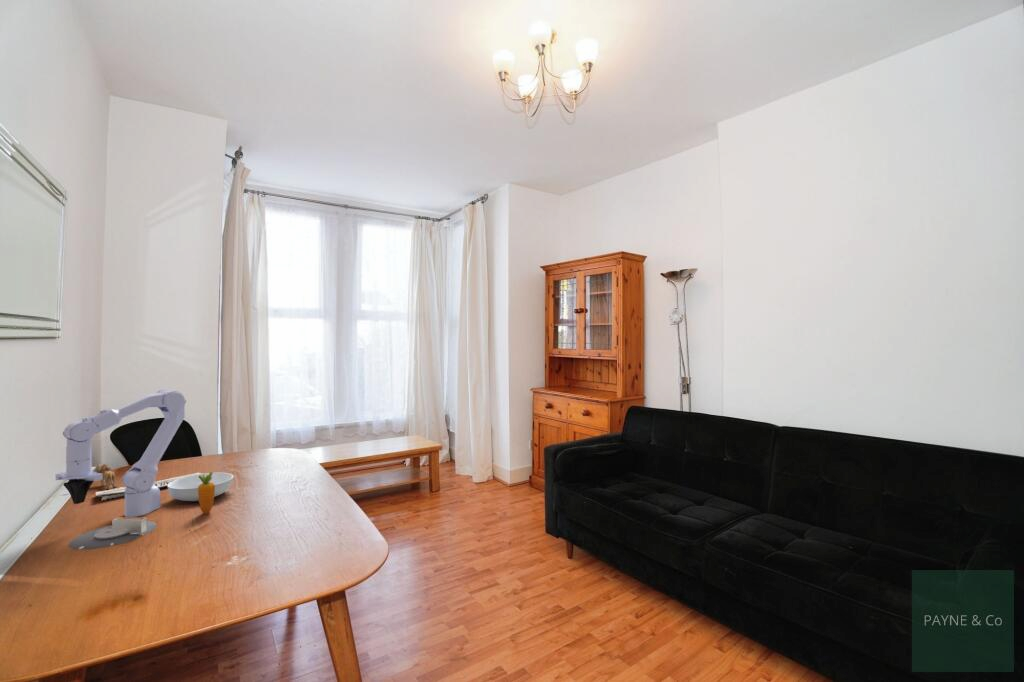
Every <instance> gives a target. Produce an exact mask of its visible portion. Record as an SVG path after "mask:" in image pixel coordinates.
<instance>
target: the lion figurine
mask: <svg viewBox="0 0 1024 682" xmlns="http://www.w3.org/2000/svg"><path fill="white" fill-rule="evenodd" d="M92 472H96V473H101V474H103V479H102V480H100V482H101V483H100V485H99V487H100V486H103V485H104V486H105V485H106V489H109V490H110V485H111V486H112V487H113V489H115V488H118V487H117V486H118V485H117V484H116V474H115V472H114V471H113V470H112V468H111V467H109V465H108V464H105V463H101V464H98V465H97V466H96V468H95V469H92ZM109 484H110V485H109ZM104 486H103V487H104ZM106 489H105V490H106Z"/></svg>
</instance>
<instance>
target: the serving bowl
mask: <svg viewBox="0 0 1024 682" xmlns="http://www.w3.org/2000/svg"><path fill="white" fill-rule="evenodd" d="M209 473H210V472H208V473H207V472H205V473H202V474H197V475H192V476H187V477H183V478H180V479H177V480H174V481H172V482H170V483H169V484H168V485H167V487H166V488H167V491H168V493H169V495H170V496H171V497H172V498H173V499H175V500H178V501H183V502H199V496H198V486H199V485H200V484H203V482H202V481H201V479H200V478H199V477H198V476H199V475H201V476H202V477H203V475H205V477H206V476H207V475H209ZM211 477H212V479H211V480H210V481H209V482H212V483H214V486H215V492H214V498H215V497H217V496H219V495H222V494H224V493H225V492H227V490H229V488H230V487H231V486H232V484H233V481H234V474H232V473H230V472H229V473H228V472H212V476H211Z"/></svg>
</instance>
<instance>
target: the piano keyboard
mask: <svg viewBox="0 0 1024 682" xmlns="http://www.w3.org/2000/svg"><path fill="white" fill-rule="evenodd" d="M197 474H203V473H202V472H195V473H189V474H185V475H179V476H174V477H169V478H164V479H159V480H155V482H154V484H153V486H156V487H158V488H159V490H161V489H166V488H168V487H167V485H168V484H169V483H170V482H172V481H174V480H177V479H180V478H183V477H187V476H192V475H197ZM125 489H126V486H123V487H122V486H121V487H117V488H111V489H109V490H106V489H105V490H101V491H100V490H99V491H95V495H96V497H100V496H101V497H102V498H101V497H100V498H101V502H103V501H102V500H104V501H108V500H107V499H109V500H113V499H112V498H114V499H117V497H118V498H122V496H123V497H125Z"/></svg>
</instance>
